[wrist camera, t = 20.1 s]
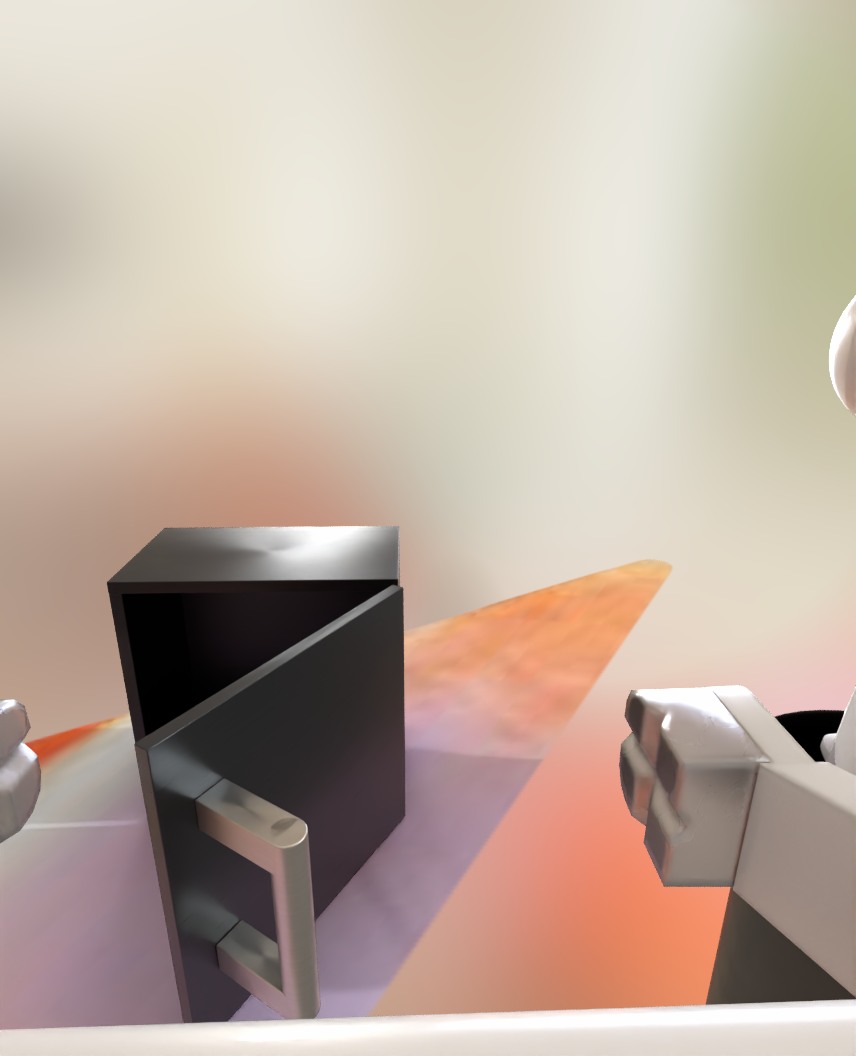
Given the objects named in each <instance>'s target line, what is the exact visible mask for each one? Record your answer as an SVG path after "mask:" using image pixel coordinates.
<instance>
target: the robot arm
mask: <svg viewBox="0 0 856 1056" xmlns="http://www.w3.org/2000/svg"><path fill="white" fill-rule="evenodd" d="M829 366H830V375H831V378H832V382H833V386H834V388H835V390H836V392H837V394H838V396H839V398H840V399H841V401H842V403H843V404H844V405H845V406H846V408H847V409H848V410H849V411H850V412H851V413H852V414H853V415H854V416H856V296H855V298H854V299H853V300H852V301H851V302H850V304H849V305H848V307H847V308H846V309H845V311H844V313H843V314H842V316H841V318H840V320H839V322H838V324H837V326H836V328H835V331H834V334H833V338H832V341H831V346H830V354H829ZM625 718H626V720H627V722H628V724H629V726H630V727H631V729H632V731H633V732H632V733H631V734H630V735H629V736H628V737H627V738H626V739H625V740H624V741H623V743H622V744H621V752H620V763H619V767H620V777H621V786H622V790H623V794H624V797H625V801H626V803H627V806H628V808H629V810H630V813H631V815H632V816H633V817H634V818H636V819H637V820H638V821H640V822H641V823H643V824H644V825H645V826H646V831H645V838H644V844H645V846H646V848H647V851H648V853H649V855H650V857H651V859H652V862H653V864H654V866H655V868H656V870H657V872H658V875H659V877H660V879H661V881H662V883H663V886H664V887H665V886H667V887H668V886H669V887H670V886H671V887H672V886H673V887H675V886H676V887H684V886H685V887H699V886H700V887H706V886H707V887H733V891H735V892H736V893H737V894H738V895H739V896H740V897H741V898H743V899H744V900H745V901H746V902H747V903H748V904H749V905H751V906H752V907H753V908H754V909H755V910H756V911H757V912H759V913H760V914H761V915H762V916H763V917H764V918H765V919H767V920H768V921H769V922H770V923H771V924H772V925H773V926H775V927H776V928H777V929H778V930H779V931H780V932H781V933H783V934H784V935H785V936H786V937H787V938H788V939H789V940H791V941H792V942H793V943H794V944H795V945H796V946H797V947H799V948H800V949H801V950H802V951H803V952H804V953H806V954H807V955H808V956H809V957H810V958H811V959H812V960H814V961H815V962H816V963H817V964H818V965H819V966H820V967H822V968H823V969H824V970H825V971H826V972H827V973H828V974H830V975H831V976H832V977H833V978H834V979H835V980H836V981H838V982H839V983H840V984H841V985H842V986H843V987H844V988H846V989H847V990H848V991H849V992H850V993H851V994H852V995H854V996H855V997H856V686H855V688H854V691H853V693H852V696H851V698H850V701H849V703H848V706H847V708H846V709H845V713H844V716H843V719H842V721H841V724H840V726H839V729H838V732H837V733H835V734H827V735H825V736H824V737H823V740H822V742H821V745H820V750H821V753H822V756H823V758H824V760H825V762H815V761H814V760H813V759H812V758H811V757H810V756H809V755H808V754H807V753H806V752H805V750H804V749H803V748H802V747H801V746H800V745H799V744H798V743H797V742H796V741H795V740H794V738H793V737H792V736H791V735H790V734H789V733H788V732H787V731H786V730H785V729H784V727H783V726H782V725H781V724H780V723H779V722H778V721H777V720H776V719H775V718H774V716H773V715H772V714H771V713H770V712H769V711H768V710H767V709H766V708H765V707H764V705H763V704H762V703H761V702H760V701H759V700H758V699H757V698H756V697H755V696H754V695H753V693H752V692H751V691H750V690H749V689H747V688H745V687H742V686H740V685H735V686H716V687H704V688H684V689H683V688H682V689H657V690H656V689H655V690H631V692H630V694H629V696H628V699H627V703H626V710H625ZM29 729H30V724H29V720H28V717H27V713H26V710H25V706H23V705H22V704H20V703H19V702H17V701H15V700H0V843H1V842H3V841H4V840H6V839H8V838H9V837H11V836H12V835H14V834H15V833H17V832H19V831H20V830H21V829H22V827H23V826H24V824H25V823H26V821H27V820H28V818H29V817H30V816H31V814H32V813H33V810H34V807H35V804H36V801H37V798H38V795H39V792H40V782H41V770H40V765H39V761H38V756H37V755H36V754H35V753H34V752H33V751H32V750H31V749H30V748H29V747H27V746H26V745H25V744H24V743H23V742H22V741H23V739H24V738H25V736H26V734H27V733H28V731H29ZM0 1056H856V1000H830V1001H802V1002H775V1003H747V1004H720V1005H695V1006H694V1005H693V1006H666V1007H640V1008H639V1007H638V1008H610V1009H609V1008H608V1009H581V1010H580V1009H579V1010H552V1011H551V1010H550V1011H521V1012H492V1013H462V1014H433V1015H404V1016H375V1017H346V1018H318V1019H291V1020H263V1021H235V1022H207V1023H179V1024H151V1025H123V1026H95V1027H67V1028H39V1029H11V1030H0Z"/></svg>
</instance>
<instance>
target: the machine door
mask: <svg viewBox="0 0 856 1056" xmlns="http://www.w3.org/2000/svg"><path fill="white" fill-rule="evenodd" d="M403 617H404V616H403V587H400V586H396V585H391V586H390V587H388V588H387V589H385V590H383V591H382V592H380V593H378V594H377V595H375V596H374V597H372V598H370V599H369V600H367V601H365V602H364V603H362V604H361V605H359V606H357V607H356V608H354V609H352V610H351V611H349V612H348V613H346V614H344V615H343V616H341V617H339V618H338V619H336V620H335V621H333V622H331V623H330V624H328V625H326V626H325V627H323V628H322V629H320V630H318V631H317V632H315V633H313V634H312V635H310V636H309V637H307V638H305V639H304V640H302V641H300V642H299V643H297V644H296V645H294V646H292V647H291V648H289V649H287V650H286V651H284V652H283V653H281V654H279V655H278V656H276V657H274V658H273V659H271V660H270V661H268V662H266V663H265V664H263V665H261V666H260V667H258V668H257V669H255V670H253V671H252V672H250V673H248V674H247V675H245V676H244V677H242V678H240V679H239V680H237V681H235V682H234V683H232V684H231V685H229V686H227V687H226V688H224V689H222V690H221V691H219V692H218V693H216V694H214V695H213V696H211V697H209V698H208V699H206V700H205V701H203V702H201V703H200V704H198V705H196V706H195V707H193V708H192V709H190V710H188V711H187V712H185V713H183V714H182V715H180V716H179V717H177V718H175V719H174V720H172V721H170V722H169V723H167V724H166V725H164V726H162V727H161V728H159V729H157V730H156V731H154V732H153V733H151V734H149V735H148V736H146V737H144V738H143V739H141V740H140V741H138V742H136V743H135V744H134V745H135V751H136V756H137V762H138V768H139V773H140V779H141V785H142V790H143V796H144V802H145V807H146V813H147V819H148V824H149V830H150V836H151V841H152V847H153V853H154V858H155V864H156V870H157V875H158V881H159V887H160V892H161V898H162V903H163V909H164V915H165V920H166V926H167V932H168V937H169V943H170V949H171V954H172V960H173V966H174V971H175V977H176V983H177V988H178V994H179V1000H180V1005H181V1011H182V1017H183V1022H184V1023H207V1022H228V1020H229V1019H230V1018H231V1017H232V1016H233V1015H234V1013H235V1012H236V1011H237V1010H238V1009H239V1008H240V1007H241V1005H242V1004H243V1003H244V1002H245V1001H246V1000H247V998H248V997H249V996H250V995H251V994H253V995H254V996H255V997H257V998H258V999H259V1000H261V1001H262V1002H263V1003H265V1004H266V1005H267V1006H269V1007H270V1008H271V1009H273V1010H274V1011H275V1012H277V1013H278V1014H279V1015H281V1016H282V1017H283V1018H285V1019H286V1020H291V1019H314V1018H315V1017H316V1015H317V1014H318V1012H319V1009H320V990H319V976H318V962H317V949H316V935H315V920H316V918H317V917H318V916H319V915H320V914H321V913H322V911H323V910H324V909H325V908H326V907H327V906H328V905H329V903H330V902H331V901H332V900H333V899H334V898H335V896H336V895H337V894H338V893H339V892H340V891H341V889H342V888H343V887H344V886H345V885H346V884H347V882H348V881H349V880H350V879H351V878H352V877H353V876H354V874H355V873H356V872H357V871H358V870H359V869H360V867H361V866H362V865H363V864H364V863H365V862H366V860H367V859H368V858H369V857H370V856H371V855H372V854H373V852H374V851H375V850H376V849H377V848H378V847H379V845H380V844H381V843H382V842H383V841H384V840H385V838H386V837H387V836H388V835H389V834H390V833H391V832H392V830H393V829H394V828H395V827H396V826H397V825H398V823H399V822H400V821H401V820H402V819H403V818H404V816H405V729H404V623H403V621H404V620H403V619H404V618H403Z"/></svg>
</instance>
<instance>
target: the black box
mask: <svg viewBox="0 0 856 1056" xmlns="http://www.w3.org/2000/svg"><path fill="white" fill-rule="evenodd" d="M399 572H400V568H399V526H356V527H355V526H351V527H350V526H348V527H228V528H227V527H225V528H224V527H219V528H164V529H163V530H162V531H161V532H160V533H159V534H158V535H157V536H156V537H155V538H154V539H153V540H151V541H150V543H148V545H146V546H145V547H144V548H143V549H142V550H141V551H140V552H139V553H138V554H137V555H136V556H134V557H133V558H132V559H131V560H130V561H129V562H128V563H127V564H126V565H125V566H124V567H123V568H122V569H121V570H120V571H119V572H117V573H116V574H115V575H114V576H113V577H112V578H111V579H110V580H109V581H108V582H107V586H108V592H109V596H110V602H111V608H112V614H113V619H114V625H115V631H116V636H117V642H118V648H119V653H120V659H121V665H122V670H123V676H124V682H125V687H126V693H127V698H128V704H129V710H130V716H131V721H132V727H133V733H134V739H135V743H136V742H138V741H140V740H141V739H143V738H144V737H146V736H148V735H149V734H151V733H153V732H154V731H156V730H157V729H159V728H161V727H162V726H164V725H166V724H167V723H169V722H170V721H172V720H174V719H175V718H177V717H179V716H180V715H182V714H183V713H185V712H187V711H188V710H190V709H192V708H193V707H195V706H196V705H198V704H200V703H201V702H203V701H205V700H206V699H208V698H209V697H211V696H213V695H214V694H216V693H218V692H219V691H221V690H222V689H224V688H226V687H227V686H229V685H231V684H232V683H234V682H235V681H237V680H239V679H240V678H242V677H244V676H245V675H247V674H248V673H250V672H252V671H253V670H255V669H257V668H258V667H260V666H261V665H263V664H265V663H266V662H268V661H270V660H271V659H273V658H274V657H276V656H278V655H279V654H281V653H283V652H284V651H286V650H287V649H289V648H291V647H292V646H294V645H296V644H297V643H299V642H300V641H302V640H304V639H305V638H307V637H309V636H310V635H312V634H313V633H315V632H317V631H318V630H320V629H322V628H323V627H325V626H326V625H328V624H330V623H331V622H333V621H335V620H336V619H338V618H339V617H341V616H343V615H344V614H346V613H348V612H349V611H351V610H352V609H354V608H356V607H357V606H359V605H361V604H362V603H364V602H365V601H367V600H369V599H370V598H372V597H374V596H375V595H377V594H378V593H380V592H382V591H383V590H385V589H387V588H388V587H390V586H391V585H396V586H400V573H399Z"/></svg>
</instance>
